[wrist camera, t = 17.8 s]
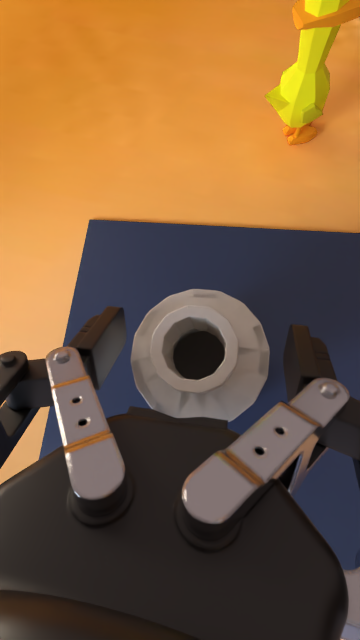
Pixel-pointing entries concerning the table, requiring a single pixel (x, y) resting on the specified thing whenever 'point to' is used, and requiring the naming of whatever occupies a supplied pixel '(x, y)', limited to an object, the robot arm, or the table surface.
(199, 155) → the table surface
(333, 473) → the paper sheet
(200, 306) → the white vase
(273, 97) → the toy figure
